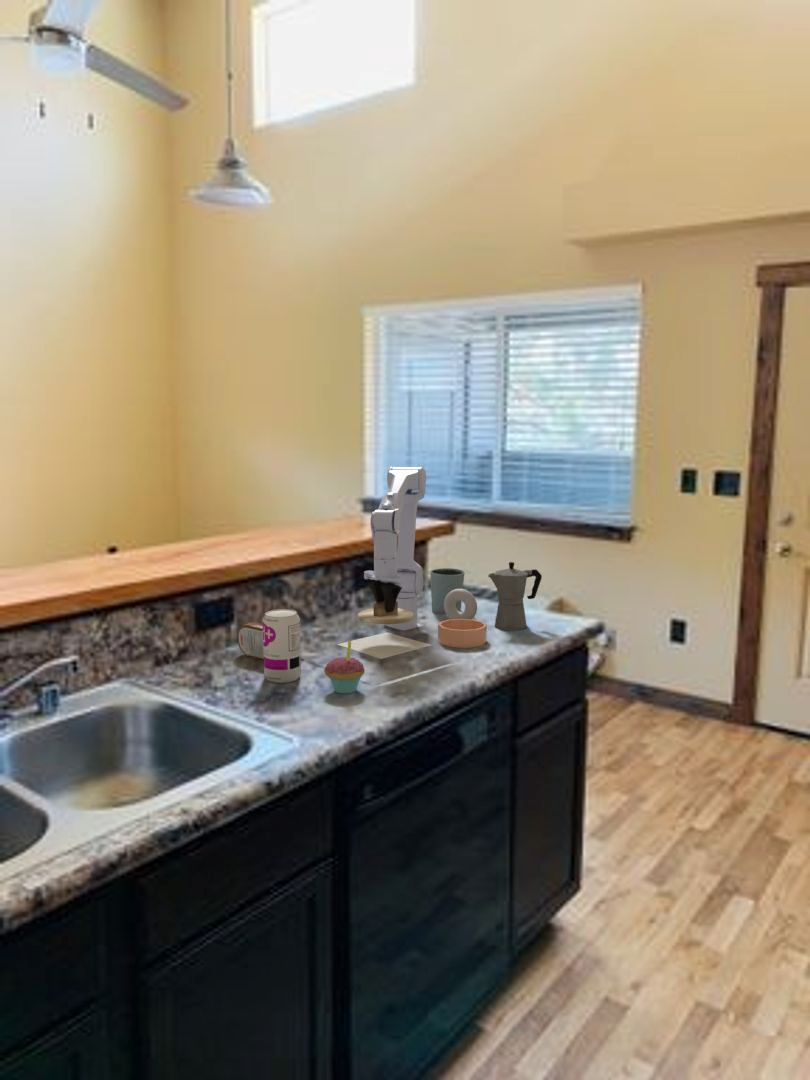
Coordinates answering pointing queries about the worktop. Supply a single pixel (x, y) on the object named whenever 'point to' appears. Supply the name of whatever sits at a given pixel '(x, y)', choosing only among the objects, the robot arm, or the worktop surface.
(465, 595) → the donut
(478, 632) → the bowl
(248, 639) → the tin
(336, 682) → the cupcake
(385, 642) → the mat
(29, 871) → the worktop surface
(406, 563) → the robot arm
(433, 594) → the teal cup
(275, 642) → the supplement can
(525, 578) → the coffeepot
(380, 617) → the lid
